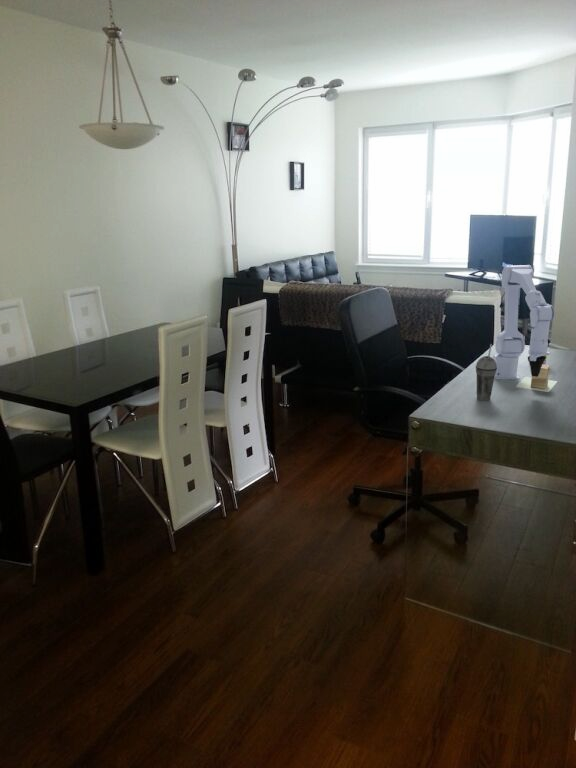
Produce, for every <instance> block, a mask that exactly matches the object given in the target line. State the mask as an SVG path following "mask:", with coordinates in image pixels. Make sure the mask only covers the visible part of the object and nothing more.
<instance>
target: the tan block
mask: <svg viewBox="0 0 576 768" xmlns="http://www.w3.org/2000/svg"><path fill="white" fill-rule="evenodd" d="M550 368H551V367H550V364H549V365H548V364H545V365H542V367H541V370H540V373H539V375H538V377H535V376H532V375H531V377H532V379H531V387H532V388H538V389H545V388H546V387H547V386H548V380H549V377H550Z"/></svg>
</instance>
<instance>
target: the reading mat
mask: <svg viewBox="0 0 576 768" xmlns="http://www.w3.org/2000/svg"><path fill="white" fill-rule="evenodd" d="M531 379H532V376H524V378H522V379H521V381H519V382H518V383H517V384H516V386H515V388H517V389H518V388H519V389H525V390H531V391H540V392H544V393H549V392H551V391H552V389H553V388H554V386H555V385H556V384H557V383H558V381H557V380H550V379H548V386H547V387H546V388H545V389H538V388H532V387H531Z"/></svg>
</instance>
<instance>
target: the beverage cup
mask: <svg viewBox="0 0 576 768" xmlns="http://www.w3.org/2000/svg"><path fill="white" fill-rule="evenodd" d="M492 346H493V344H492V343H490V345H489V350H488V355H486V356H481V358H479V359H478V361H477V362H476V363H475V373H476V399H477V400H479V401H485V402H488V401H490V400H491V396H492V394H493V393H492V391H493V387H494V381H495V378H494V377H495V373H496V370H497V364H496V362H495V360H494V359H493V356H492V357H491V351H492Z"/></svg>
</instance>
